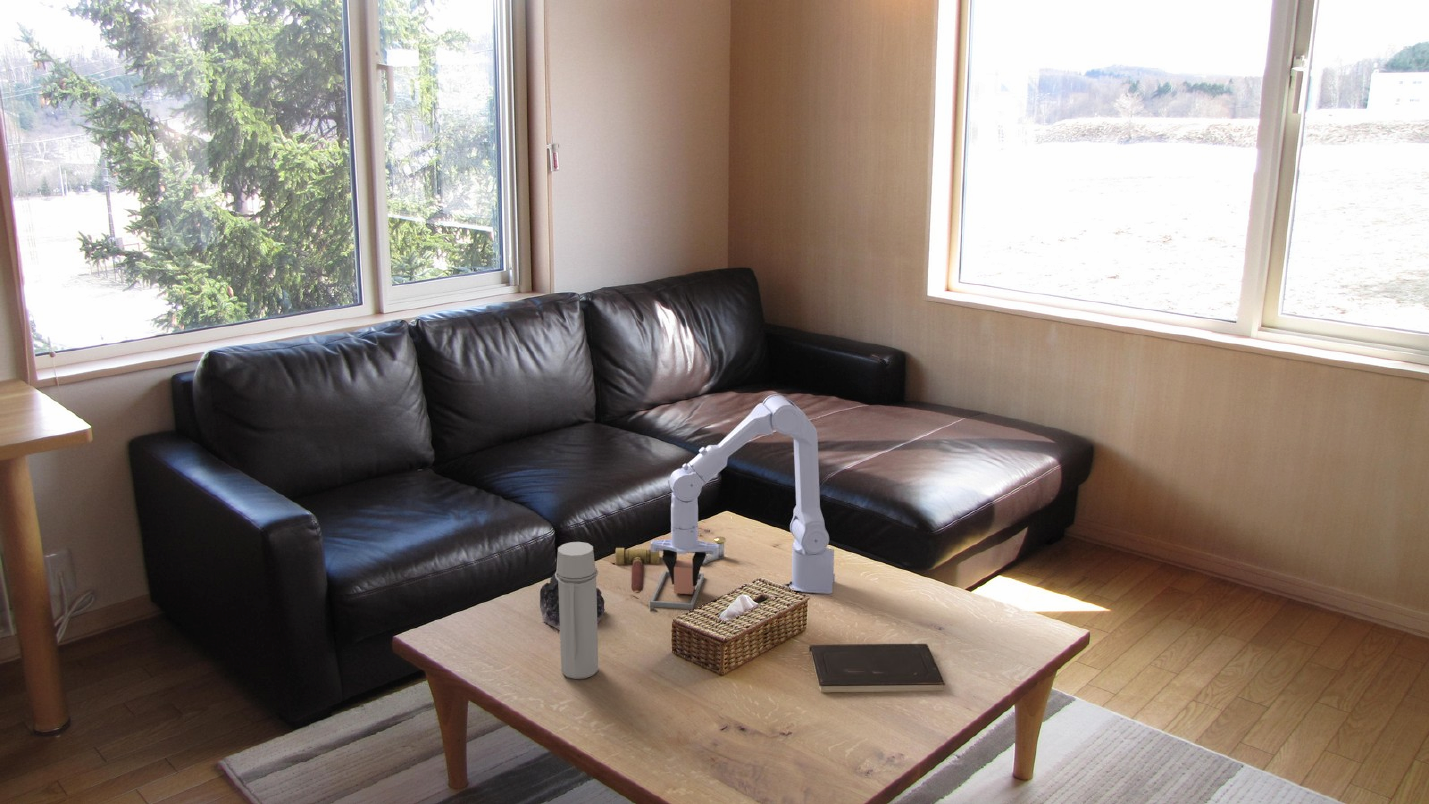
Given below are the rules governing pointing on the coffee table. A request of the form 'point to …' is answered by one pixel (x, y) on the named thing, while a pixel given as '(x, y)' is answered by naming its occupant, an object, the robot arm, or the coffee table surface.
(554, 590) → the crystal cluster
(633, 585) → the gavel
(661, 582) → the rectangular frame
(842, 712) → the coffee table surface
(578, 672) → the water bottle
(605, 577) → the coffee table surface
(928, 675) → the hardcover book
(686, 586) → the block
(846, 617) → the coffee table surface
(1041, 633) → the coffee table surface
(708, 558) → the crank
